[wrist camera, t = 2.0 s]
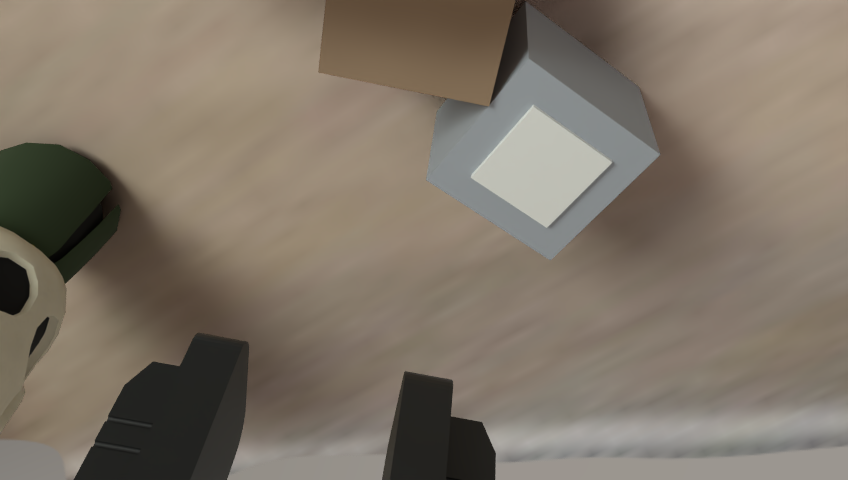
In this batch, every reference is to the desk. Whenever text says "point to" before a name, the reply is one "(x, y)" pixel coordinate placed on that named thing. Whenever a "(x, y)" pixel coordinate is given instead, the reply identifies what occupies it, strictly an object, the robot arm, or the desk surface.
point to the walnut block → (418, 44)
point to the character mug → (42, 251)
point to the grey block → (543, 138)
